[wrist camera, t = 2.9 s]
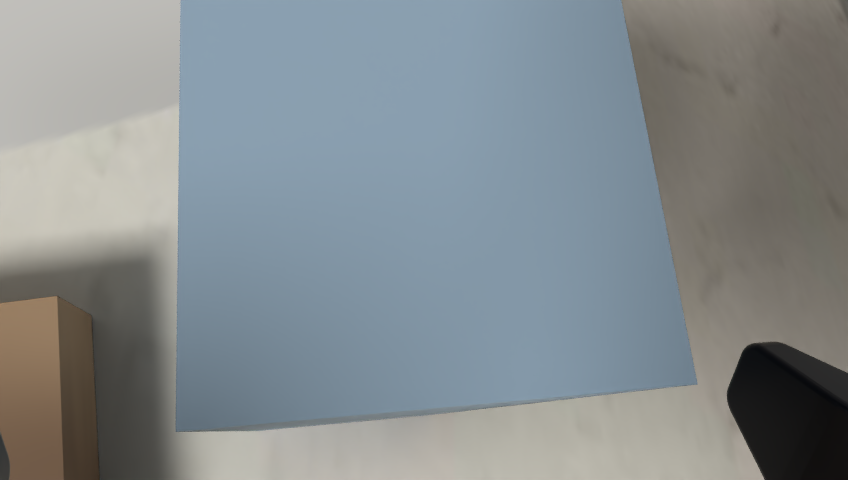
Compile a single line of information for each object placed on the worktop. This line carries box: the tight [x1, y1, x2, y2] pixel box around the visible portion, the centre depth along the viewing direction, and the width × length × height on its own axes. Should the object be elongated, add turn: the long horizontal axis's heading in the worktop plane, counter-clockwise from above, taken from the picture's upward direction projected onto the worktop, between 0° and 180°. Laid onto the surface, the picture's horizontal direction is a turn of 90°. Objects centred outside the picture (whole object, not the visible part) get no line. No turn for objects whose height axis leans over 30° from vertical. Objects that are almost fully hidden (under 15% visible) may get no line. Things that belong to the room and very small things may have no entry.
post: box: [176, 0, 697, 432], centre depth 12 cm, size 4×4×12 cm
